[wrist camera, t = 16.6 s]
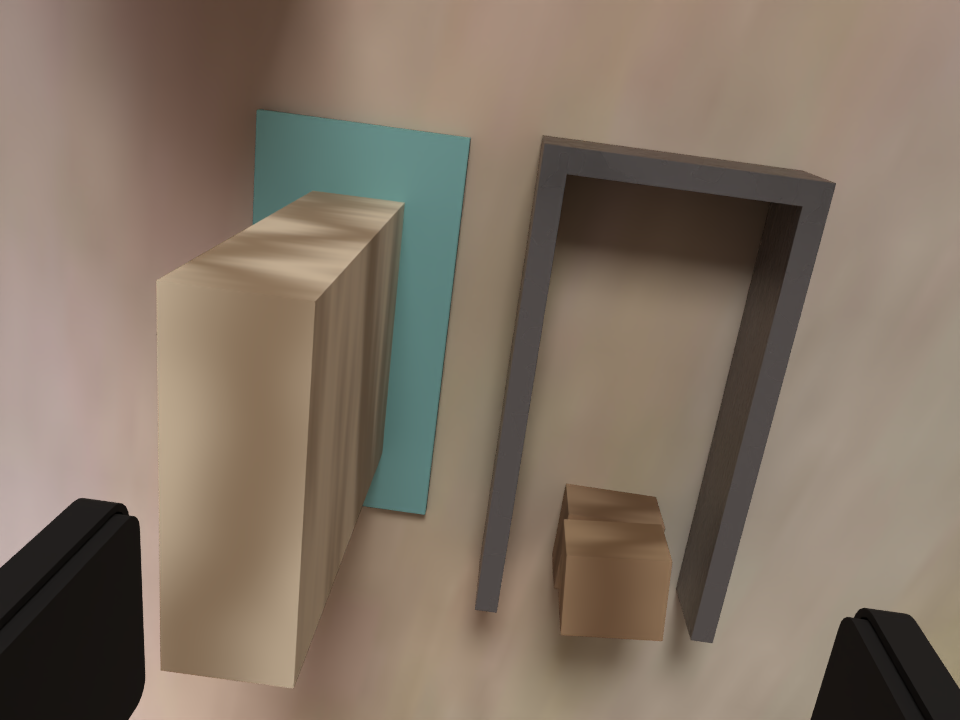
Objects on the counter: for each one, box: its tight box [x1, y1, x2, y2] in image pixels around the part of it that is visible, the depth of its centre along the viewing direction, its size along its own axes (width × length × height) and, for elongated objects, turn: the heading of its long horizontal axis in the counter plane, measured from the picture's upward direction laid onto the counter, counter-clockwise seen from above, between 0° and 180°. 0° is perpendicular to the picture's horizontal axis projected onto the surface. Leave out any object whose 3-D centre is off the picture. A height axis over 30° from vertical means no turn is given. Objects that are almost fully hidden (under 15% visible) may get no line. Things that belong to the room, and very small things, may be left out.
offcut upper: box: [558, 519, 672, 641], centre depth 37 cm, size 4×4×3 cm
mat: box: [253, 109, 471, 515], centre depth 38 cm, size 9×18×1 cm, turn 173°
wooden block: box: [156, 191, 405, 689], centre depth 30 cm, size 4×12×16 cm, turn 173°
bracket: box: [475, 135, 836, 643], centre depth 37 cm, size 11×21×4 cm, turn 173°
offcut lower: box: [552, 484, 665, 589], centre depth 40 cm, size 4×4×3 cm
